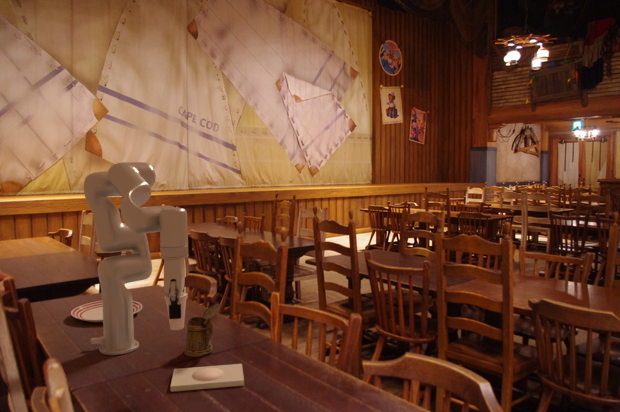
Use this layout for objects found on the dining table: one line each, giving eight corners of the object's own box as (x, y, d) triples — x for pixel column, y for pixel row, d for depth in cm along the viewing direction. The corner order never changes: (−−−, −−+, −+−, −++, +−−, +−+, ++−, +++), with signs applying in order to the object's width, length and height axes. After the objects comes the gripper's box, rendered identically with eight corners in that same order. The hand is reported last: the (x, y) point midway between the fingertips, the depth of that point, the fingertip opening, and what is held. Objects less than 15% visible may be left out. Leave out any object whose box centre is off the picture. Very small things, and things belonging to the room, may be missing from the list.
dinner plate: (156, 312, 214) (156, 304, 214) (99, 331, 191) (99, 322, 190) (114, 303, 228) (114, 296, 228) (56, 319, 205) (56, 311, 205)
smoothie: (182, 332, 140) (180, 282, 138) (160, 330, 141) (159, 281, 140) (192, 325, 146) (190, 277, 145) (172, 323, 147) (170, 276, 146)
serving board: (170, 391, 139) (170, 386, 139) (174, 373, 151) (174, 368, 150) (244, 385, 142) (243, 379, 142) (242, 368, 154) (241, 363, 154)
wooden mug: (207, 362, 159) (206, 306, 158) (178, 353, 167) (177, 299, 165) (227, 353, 166) (226, 299, 165) (199, 345, 174) (197, 293, 173)
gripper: (164, 247, 150) (166, 307, 151) (156, 258, 133) (158, 325, 134) (190, 246, 151) (192, 305, 152) (185, 256, 134) (187, 323, 135)
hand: (176, 314), depth 143 cm, fingers closed on smoothie, 6 cm apart
